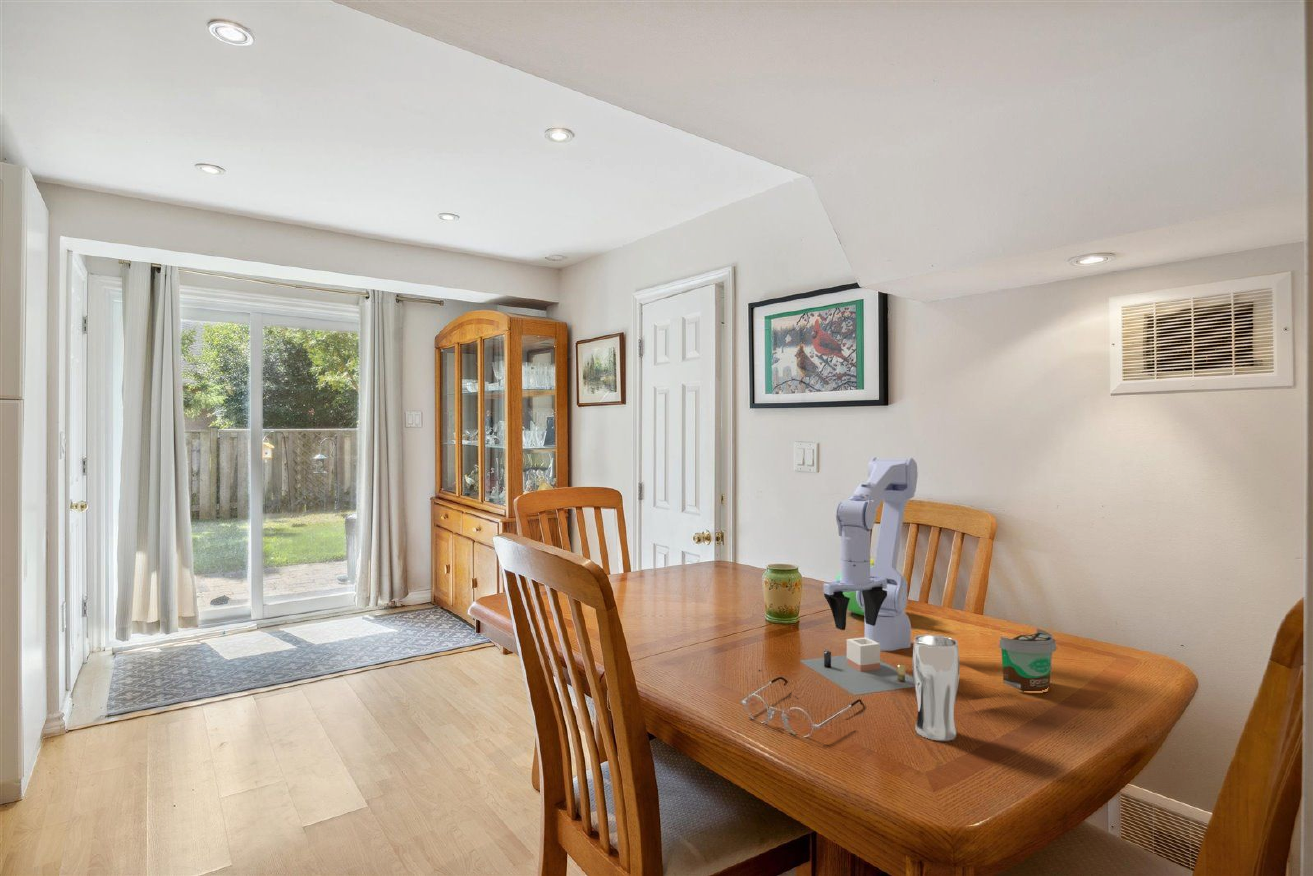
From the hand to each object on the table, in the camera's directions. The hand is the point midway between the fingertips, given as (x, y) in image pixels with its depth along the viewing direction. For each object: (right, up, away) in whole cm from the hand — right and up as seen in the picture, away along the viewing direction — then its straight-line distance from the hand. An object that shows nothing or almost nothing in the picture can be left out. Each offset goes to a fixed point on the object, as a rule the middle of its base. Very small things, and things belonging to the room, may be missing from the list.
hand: (855, 626), depth 131 cm
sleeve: (+1, -8, 0) cm, 8 cm away
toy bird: (+17, -10, +42) cm, 47 cm away
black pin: (-6, -8, -1) cm, 10 cm away
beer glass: (+5, -10, -27) cm, 29 cm away
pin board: (0, -9, -4) cm, 10 cm away
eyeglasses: (-15, -10, -19) cm, 26 cm away
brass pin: (+6, -8, -8) cm, 13 cm away
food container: (+31, -10, -9) cm, 34 cm away
